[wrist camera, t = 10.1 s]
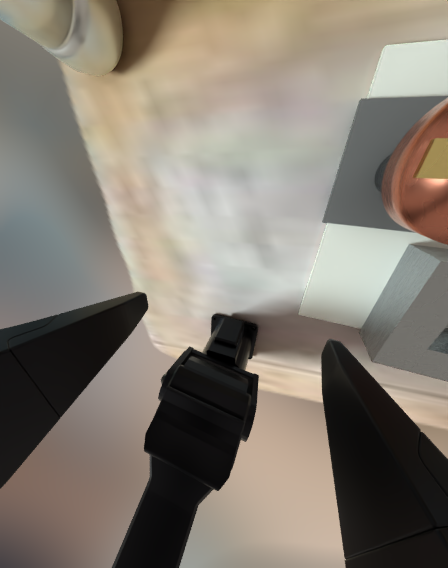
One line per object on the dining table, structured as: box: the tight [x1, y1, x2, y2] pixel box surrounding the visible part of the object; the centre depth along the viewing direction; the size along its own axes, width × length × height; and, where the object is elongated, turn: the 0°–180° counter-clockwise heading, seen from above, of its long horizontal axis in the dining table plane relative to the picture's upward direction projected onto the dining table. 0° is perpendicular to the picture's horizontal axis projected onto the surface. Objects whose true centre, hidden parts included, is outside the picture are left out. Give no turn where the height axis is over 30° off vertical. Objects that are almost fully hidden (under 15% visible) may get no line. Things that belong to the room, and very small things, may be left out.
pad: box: [322, 96, 448, 233], centre depth 14 cm, size 8×8×1 cm
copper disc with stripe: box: [375, 98, 448, 245], centre depth 10 cm, size 6×6×9 cm
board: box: [298, 39, 448, 329], centre depth 15 cm, size 21×17×1 cm
